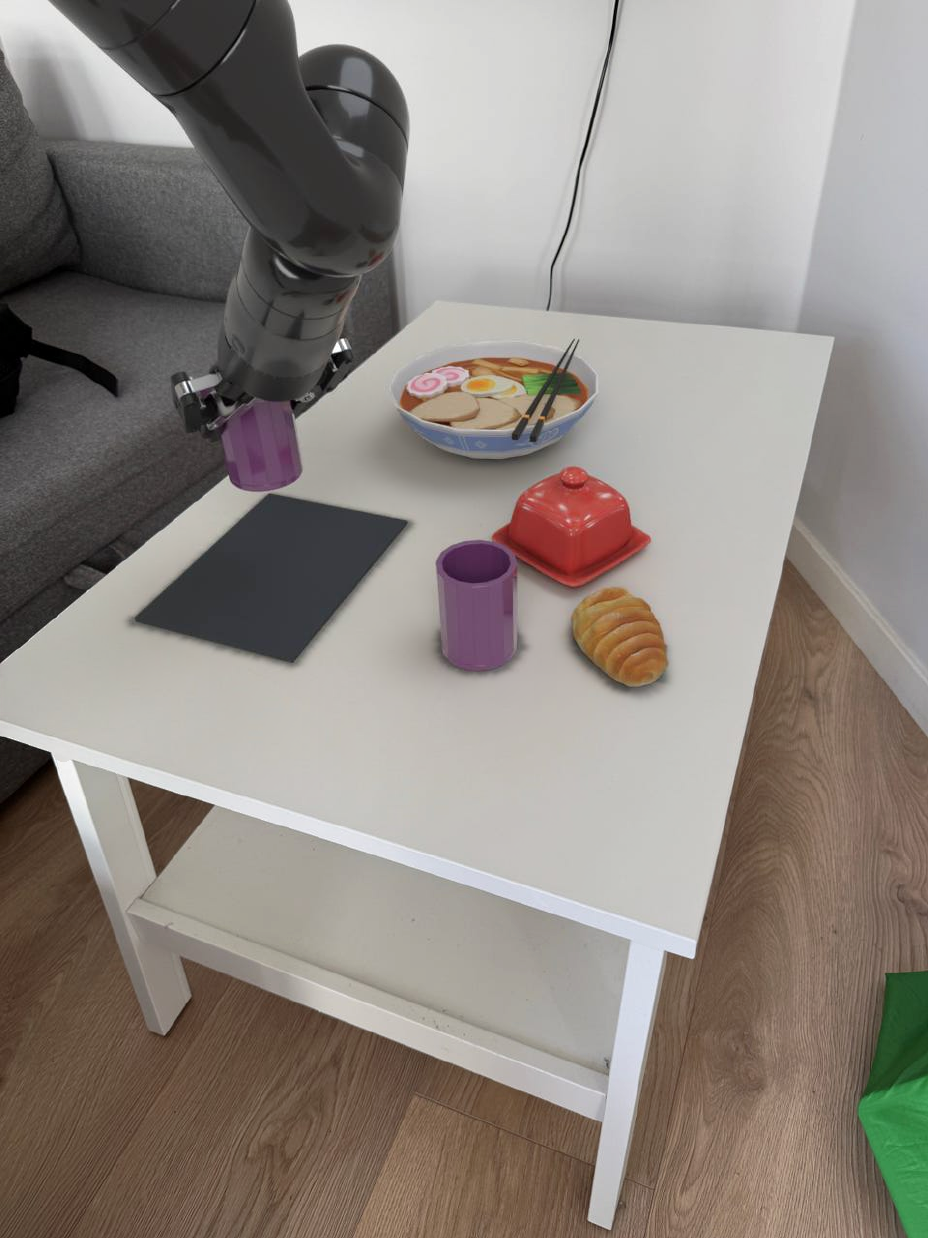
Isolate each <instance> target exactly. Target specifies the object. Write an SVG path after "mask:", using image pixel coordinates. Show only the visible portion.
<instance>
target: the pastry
mask: <svg viewBox="0 0 928 1238" xmlns="http://www.w3.org/2000/svg"><path fill="white" fill-rule="evenodd" d="M570 620H571V627H572V636H573V638H574V641H575V642H576V644H577V645H578V647H579V649H580V650H581V652H582V653H583V654H585V656H587V658H588V659H590V660H591V661H592V663H593V664H594V665H595V666H596V667H597V668H599V669H600V670H601V671H602V672H603V673H605V674H606V675H607V676H608V677H609V678H610V679H612V680H613V681H615V682H619V683H620V684H623V685H625V686H626V687H629V688H634V687H635V688H639V687H641V686H645V685H650V684H653V683H654V682H656V681H658V679H660V677H661V676H662V674H663V673H664V672H665V670H666V669H667V668H668V666H669V661H668V655H667V647H668V646H667V644H666V642H665V638H664V633H663V630H662V627H661V624H660V623H661V622H660V621H659V620H658V618H657V617H656V615H655V614H654V612H653V611H652V608H651V606H650V605H649V604H648V603H647V601H645V600H644V599H643V598H640V597H635V596H634V595H633V594H631V593H630V592H629V591H628V589H627V588H625V587H624V588H623V587H621V586H610V587H603V588H600V589H597V590H596V591H595V592H594V593H592V594H591V595H590V594H589V595H587V596H586V597H585V598H583V599H582V600H581V601H580V602H579V603H578V605H577V607H576V608H575V609H574V611H573V612H572V613H571V616H570Z"/></svg>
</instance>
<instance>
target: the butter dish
mask: <svg viewBox="0 0 928 1238" xmlns="http://www.w3.org/2000/svg"><path fill="white" fill-rule="evenodd" d="M630 510H631V509H630V506H629V503H628V501H627V499H626V498H625V497H624V496H623V495H622V493H620V492H619V491H618V490H617V489H616V488H614V487H612V486H611V485H609V484H608V483H606V482H604V481H603V480H600V479H599V478H596V477H595V476H592V475H590V474H589V473H588V472H587V471H586V470H585V469H583V468H582V467H579V466H567V467H565V468H563V469H562V470H561V471H560V472H559V473H556V474H553V475H550V476H548V477H545V478H543V479H542V480H540V481H538V482H536V483H535V484H532V486H530V487H529V488H527V489H526V490H525V491H524V492H523V493H522V494H520V495H519V496H518V499H517V500H516V503H515V505H514V508H513V512H512V515H511V518H510V522H509V523H507V524H505V525H504V526H502V527H501V528H499V529H498V530H496V531H495V532H493V534H492V535H491V536H490V537H491V540H492V542H496V543H499V544H501V545H503V546H506V547H508V548H509V549H510V550H511V551H512V552H513V553H514V554H515V557H517V558H519V559H520V560H521V561H523V562H525V563H527V564H528V565H530V566H531V567H533V568H534V569H536V570H538V571H540V572H541V573H543V574H544V575H546V576H548V577H549V578H551V579H552V580H554V581H555V582H558V583H560V584H562V585H564V586H567V587H570V588H579V587H581V586H584V585H585V584H588V583H589V582H591V581H593V580H595V579H596V578H598V577H599V576H601V575H603V574H604V573H605V572H607V571H609V570H611V569H613V568H615V567H616V566H617V565H619V564H621V563H622V562H624V561H625V560H627V559H629V558H630V557H632V556H634V555H635V554H637V553H638V552H640V551H642V550H643V549H644V548H645V547H647V546H648V545H649V544H650V543H651V541H652V538H651V536H650V535H649V534H648V533H646V532H644V531H643V530H641V529H639V528H638V527H636V526H634V525H632V519H631V512H630Z"/></svg>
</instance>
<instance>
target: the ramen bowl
mask: <svg viewBox="0 0 928 1238" xmlns="http://www.w3.org/2000/svg"><path fill="white" fill-rule="evenodd" d="M575 340H576V338H573V339H572V340H571V342H570V343H569V345H568V347H567V349H566V350H564V349H562V348H560V347H558V346H553V345H547V344H541V343H536V342H530V341H524V340H479V341H471V342H464V343H459V344H458V343H457V344H452V345H451V344H450V345H445V346H443V347H440V348H437V349H434V350H432V351H429V352H426V353H423V354H421V355H417V356H415V357H414V358H413V359H411V360H410V361H408V362H406V363H405V364H404V365H403V366H401V367H400V368H398V369H397V370H395V371H394V373H393V375H392V378H391V380H390V382H389V385H388V387H387V392H388V394H389V396H390V398H391V400H392V402H393V404H394V406H395V408H396V410H397V411H398V413H399V414H400V416H401V418H402V419H403V421H405V422H406V424H407V425H408V426H409V427H410V428H411V430H413V431H414V432H415V433H416V434H417V435H418V436H420V437H421V438H422V439H424V441H425V440H426V441H427V442H428V443H430V444H432V445H434V446H435V447H437V448H439V449H440V450H442V451H445V452H448V453H450V454H455V455H459V456H463V457H467V458H470V459H479V460H480V459H482V460H485V459H486V460H504V459H509V458H510V459H511V458H515V457H522V456H527V455H530V454H532V453H534V452H537V451H539V450H541V449H544V448H546V447H548V446H550V445H552V444H555V443H557V442H559V441H560V440H561V439H562V438H563V437H564V436H565V435H566V434H567V433H568V432H569V431H570V430H571V429H572V428H573V427H574V426H575V425H576V424H578V422H579V421H580V420H581V419H582V418H583V417H584V416H585V415H586V413H587V412H588V411H589V409H590V408H591V407H592V405H593V403H594V402H595V400H596V398H597V396H598V395H599V392H600V391H599V387H600V386H599V384H600V382H599V381H600V380H599V379H600V375H599V373H598V372H597V371H596V369H594V368H593V367H592V365H590V363H589V362H587V360H586V359H585V358H583V357H581V356H578V355H576V354H575V352H576V350H577V348H578V345H579V343H580V340H581V339H580V338H579V339H577V341H576V343H575V346H574V347H573V349H572V350H571V352H570V349H571V347H572V345H573V344H574V342H575Z"/></svg>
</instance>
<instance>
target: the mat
mask: <svg viewBox="0 0 928 1238" xmlns="http://www.w3.org/2000/svg"><path fill="white" fill-rule="evenodd" d="M407 525H408V520H406V519H401V518H396V517H391V516H386V515H382V514H376V513H371V512H365V511H361V510H355V509H350V508H347V507H341V506H335V505H331V504H326V503H320V502H315V501H311V500H305V499H300V498H295V497H291V496H286V495H280V494H275V493H270V492H269V493H267V494H266V496H264V497H263V498H262V499H261V500H260V501H259V502H258V503H257V504H256V505H254V506H253V507H252V508H251V509H250V510H249V511H248V512H247V513H246V514H245V515H244V516H243V517H241V519H240V520H239V521H237V522H236V523H235V524H234V525H233V526H232V527H231V528H230V529H228V530H227V532H226V533H224V534H223V535H222V536H221V537H220V538H219V539H218V540H216V542H215V543H213V545H212V546H210V548H208V549H207V550H206V551H205V552H204V553H203V554H201V556H200V557H198V558H197V560H195V561H194V562H193V563H192V564H191V565H189V567H187V568H186V569H185V570H184V571H183V572H182V573H181V574H180V575H178V576H177V578H176V579H174V581H172V582H171V583H170V584H169V585H168V586H167V587H166V588H165V589H163V590H162V592H160V594H159V595H158V596H156V597H155V598H154V599H153V600H152V601H150V603H148V605H147V606H145V607H144V608H143V609H142V610H141V611H140V612H139V613H138V614H137V615H136V616H135V617H134V620H135V622H139V623H142V624H146V625H150V626H154V627H157V628H161V629H164V630H168V631H172V632H176V633H180V634H183V635H187V636H191V637H195V638H198V639H201V640H206V641H209V642H214V643H218V644H221V645H225V646H229V647H233V648H236V649H240V650H243V651H248V652H250V653H254V654H258V655H262V656H266V657H270V658H274V659H277V660H280V661H281V660H282V661H285V662H288V663H294V662H295V661H296V659H297V658H298V657H299V656H300V655H301V653H302V652H303V651H304V650H305V648H306V647H307V646H308V645H309V644H310V642H311V641H312V640H313V638H314V637H315V636H316V635H317V634H318V632H319V631H320V630H321V629H322V628H323V627H324V625H325V624H326V623H327V622H328V621H329V619H330V618H331V617H332V616H333V615H334V613H335V612H336V611H337V609H339V607H340V606H341V605H342V604H343V602H345V600H346V598H348V596H349V595H350V594H351V593H352V592H353V590H354V589H355V588H356V587H357V585H358V584H359V583H361V580H362V579H363V578H364V576H366V575H367V573H368V572H369V571H370V569H371V568H372V567H373V566H374V565H375V564H376V562H377V561H379V559H380V558H381V557H382V555H383V554H384V552H386V550H387V549H388V548H389V546H391V544H392V543H393V542H394V540H396V538H397V537H398V536H399V535H400V533H401V532H402V531H403V530H404V529H405V527H406V526H407Z"/></svg>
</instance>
